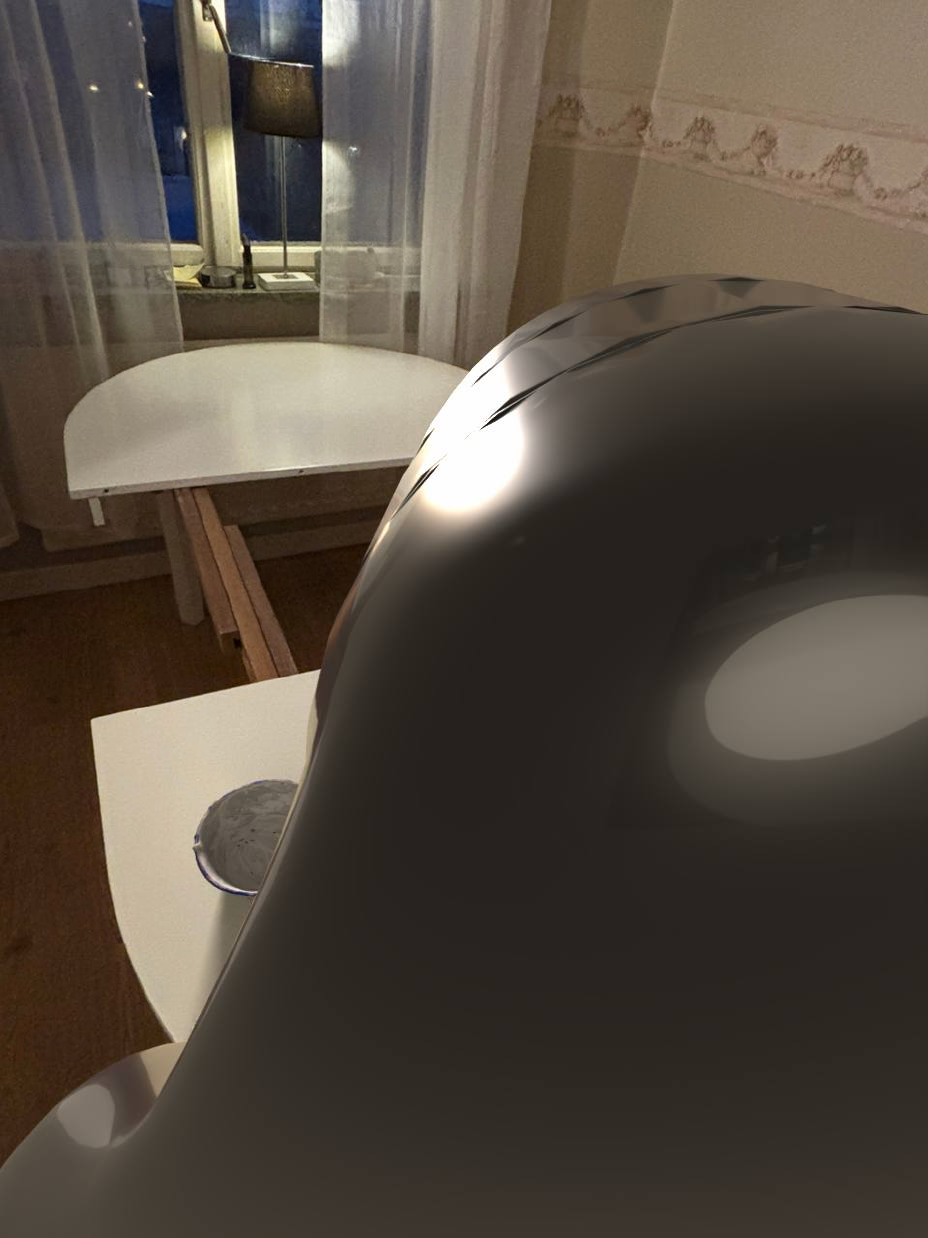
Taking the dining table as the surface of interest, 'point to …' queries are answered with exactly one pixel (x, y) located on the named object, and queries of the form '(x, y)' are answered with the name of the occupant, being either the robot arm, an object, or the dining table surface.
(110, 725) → the dining table surface
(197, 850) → the bowl
